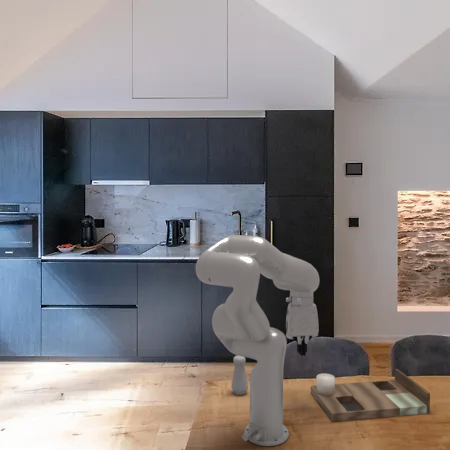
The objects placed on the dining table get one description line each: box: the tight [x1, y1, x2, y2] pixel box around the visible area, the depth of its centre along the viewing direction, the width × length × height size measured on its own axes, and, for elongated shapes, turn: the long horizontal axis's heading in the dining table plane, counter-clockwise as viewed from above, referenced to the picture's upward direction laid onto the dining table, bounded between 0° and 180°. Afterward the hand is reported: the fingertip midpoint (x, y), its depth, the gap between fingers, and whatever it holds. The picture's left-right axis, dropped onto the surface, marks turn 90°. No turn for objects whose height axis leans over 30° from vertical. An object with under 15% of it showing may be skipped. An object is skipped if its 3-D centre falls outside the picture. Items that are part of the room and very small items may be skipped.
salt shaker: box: [231, 355, 249, 396], centre depth 160 cm, size 6×6×13 cm
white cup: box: [316, 372, 336, 395], centre depth 155 cm, size 6×6×5 cm
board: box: [310, 368, 431, 422], centre depth 152 cm, size 32×20×6 cm, turn 98°
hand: (302, 354), depth 154 cm, fingers closed
